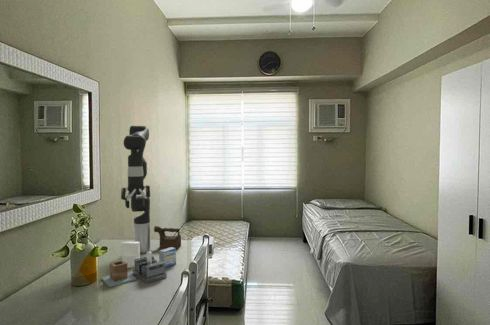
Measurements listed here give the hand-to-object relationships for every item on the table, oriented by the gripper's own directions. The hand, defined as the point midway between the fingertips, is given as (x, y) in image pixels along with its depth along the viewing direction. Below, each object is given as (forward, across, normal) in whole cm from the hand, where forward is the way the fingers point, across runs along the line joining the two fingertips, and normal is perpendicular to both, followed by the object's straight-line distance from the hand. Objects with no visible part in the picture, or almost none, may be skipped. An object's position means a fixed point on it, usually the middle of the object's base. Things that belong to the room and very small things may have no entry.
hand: (136, 206), depth 162 cm
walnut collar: (+31, +12, +7) cm, 34 cm away
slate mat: (+32, +12, +7) cm, 35 cm away
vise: (+32, -1, +12) cm, 34 cm away
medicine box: (+32, -14, +6) cm, 36 cm away
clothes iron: (+32, -29, -21) cm, 48 cm away
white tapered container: (+32, 0, -8) cm, 33 cm away
